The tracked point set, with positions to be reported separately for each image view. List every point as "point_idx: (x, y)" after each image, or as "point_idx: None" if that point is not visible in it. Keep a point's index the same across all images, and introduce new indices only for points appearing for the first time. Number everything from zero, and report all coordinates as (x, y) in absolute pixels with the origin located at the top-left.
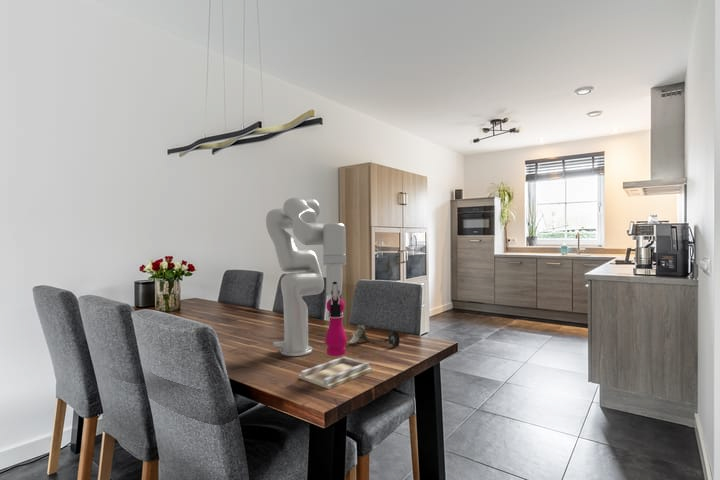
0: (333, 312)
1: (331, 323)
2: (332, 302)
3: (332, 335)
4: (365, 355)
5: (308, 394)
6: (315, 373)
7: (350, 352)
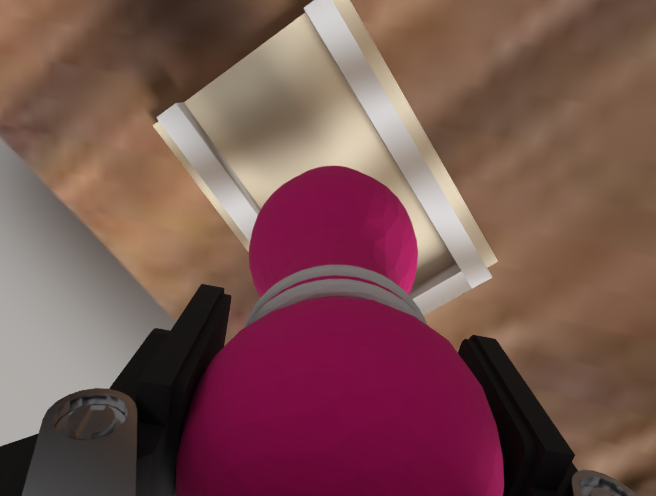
0: (145, 343)
1: (299, 265)
2: (46, 446)
3: (266, 230)
4: (547, 380)
5: (112, 12)
6: (339, 85)
7: (630, 328)
